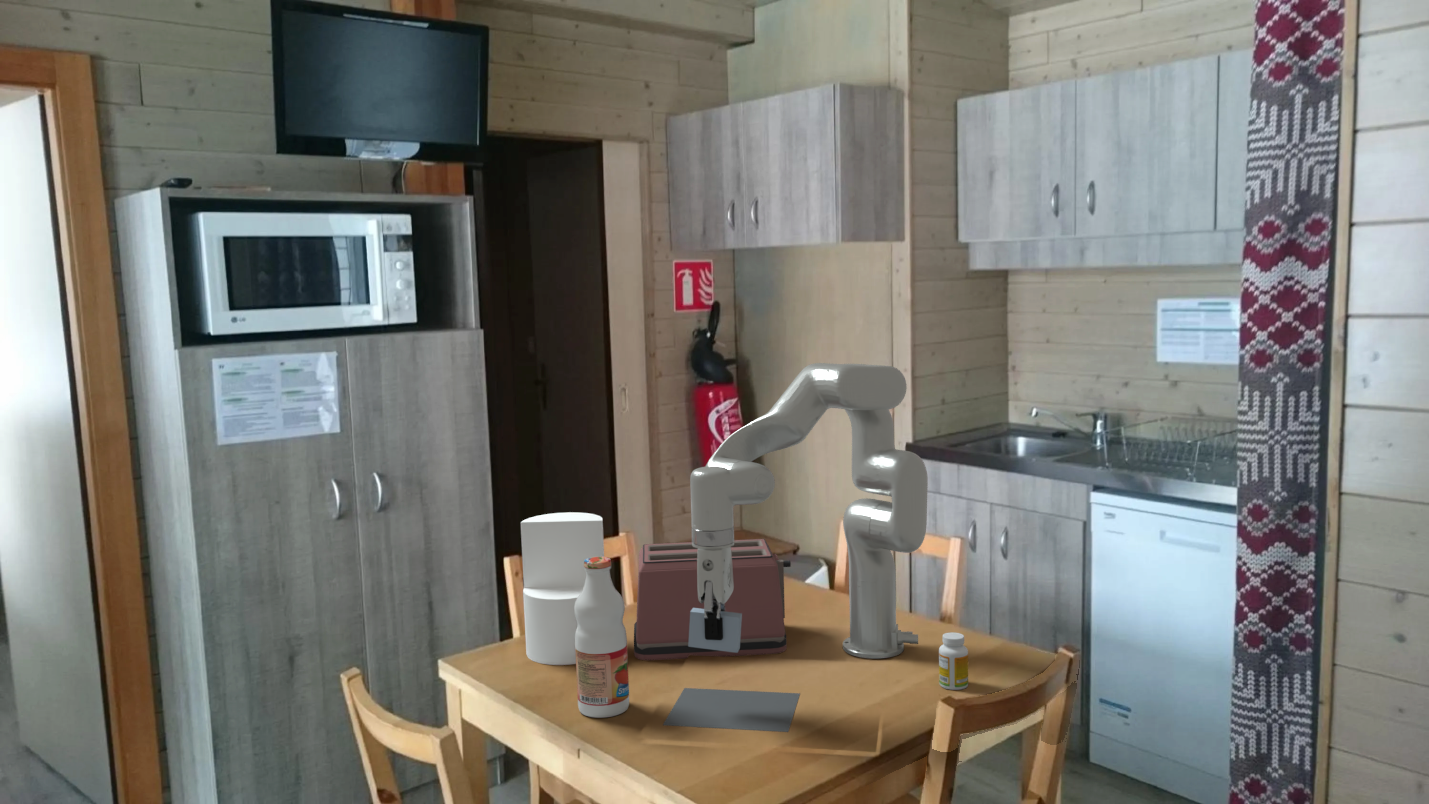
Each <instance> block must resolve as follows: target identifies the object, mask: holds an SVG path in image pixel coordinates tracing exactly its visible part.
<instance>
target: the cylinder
mask: <svg viewBox="0 0 1429 804" xmlns="http://www.w3.org/2000/svg"><path fill="white" fill-rule="evenodd" d="M603 522H604V521H603V517H602V516H601V515H598V514H595V513H588V512H573V511H572V512H571V511H569V512H554V513H552V512H551V513H547V514H546V513H544V514H541V515H535V516H532V517H528V518H526V519H524V520H523V519H522V521H520V538H521V540H520V541H521V558H522V575H523V576H522V577H523V580H522V581H523V589H522V595H523V613H524V633H525V634H524V636H525V650H526V651H525V653H526V656H527V658H528V659H529V660H531V661H532V662H535V663H538V664H542V665H543V664H544V665H550V666H552V665H553V666H564V665H565V666H567V665H576V651H575V632H576V629H577V626H578V623H577V619H576V617H575V612H574V606H575V601H576V599H577V598H578V596H579V595H580V593H581V592H582V590H583V587H584V584H585V580H586V571H585V569H584V561H585V560H586V559H588V558H591V557H605V545H604V543H605V542H604V523H603Z"/></svg>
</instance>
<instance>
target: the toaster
mask: <svg viewBox="0 0 1429 804" xmlns="http://www.w3.org/2000/svg"><path fill="white" fill-rule="evenodd" d="M697 553H698V548H695V547H693V546H692V541H689V542H688V541H687V542H665V543H647V544H646V543H645V544H643V545H642V547H641V548H640V550H639V552H638V554H639V555H638V575H637V576H638V577H637V601H636V621H635V623H634V624H633V627H634V629H633V655H634V657H635V658H636V659H638V660H640V661H662V660H681V659H682V660H683V659H684V660H685V659H686V660H687V659H688V658H689V656H696V657H697V656H700V657H721V658H722V657H739V656H741V657H742V656H759V655H760V656H761V655H762V656H763V655H775V654H781V653H783V652H785V651H786V650H787V646H788V645H787V643H788V642H787V641H788V640H787V633H786V627H785V618H786V617H785V616H786V613H785V611H786V610H785V609H786V608H785V574H784V573H785V572H784V570H785V569H784V568H790V567H792V566H791V565H792V564H791V560H784V559H779V557H778V555H777V553H773V552H772V550H771V547H770V545H769V543H767V540H766V539H765V538H755V539H754V538H750V539H734V545H733V546H731V554H732V566H733V581H734V590H733V592H732V594H731V596H730V597H729V599H728V600H727V602H726V603H725V612H734V613H742V622H741V638H740V649H739V651H738V653H735V652H727V651H719V650H711V649H704V648H696V647H688V642H689V625H690V611H691V610H692V609H693V608H701V609H704V602H703V603H700V602H699V600H698V588H697Z"/></svg>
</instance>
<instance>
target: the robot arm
mask: <svg viewBox="0 0 1429 804" xmlns="http://www.w3.org/2000/svg"><path fill="white" fill-rule="evenodd" d="M907 389H908V387H907V380H906V378H905V376H904V374H903V373H902V371H901V370H900V369H898V368H897V367H894V366H892V365H880V364H879V365H878V364H864V363H830V362H829V363H828V362H816V363H810V364H808V365H807V366H805V367H803V368H802V370H801V371H799V373H798V374H797V375H796V376H795V378H794V379H793V380H792V382H791V383H790V384H789V385H788V387H787V388H786V389H785V390H784V392H783V393H782V394H781V396H780V397H779V398H778V400H777V401H776V402H775V403H773V406H772V407H771V408H770V409H769V410H768V412H766V413H764V415H761V416H759V417H757V418H756V419H753V421H750V422H749V423H747V424H746V425H744V426H742V427H740V428H739V429H737V430H736V431H733V433H731V434H730V435H729V436H728V437H726V439H725V440H724V441H723V442H722V443H721V444H720V445H719V447H717V449H716V450H715V451H714V453H713V454H712V455H711V456H710V458H709V459H708V461H707V463H706V464H705V466H701V467H698V468H695V469H693V470H692V472H691V473H690V478H689V479H690V481H689V484H690V485H689V486H690V517H691V518H690V521H691V523H690V524H691V542H692V546H693V547H695V548H698V553H697V588H698V600H699V602H700V603H703V602H704V617H705V618H704V623H705V639H706V640H722V639H723V618H721V611H725V603H726V602H727V600H728V599H729V597H730V596H731V594H732V592H733V590H734V581H733V566H732V554H731V546H733V545H734V540H735V530H734V529H735V527H734V526H735V525H734V524H735V522H734V521H735V520H734V507H735V506H740V505H743V506H744V505H745V506H746V505H759V504H761V503H764V502H765V501H766V500H768V499H769V498H770V497H771V495H772V494H773V492H774V490H775V485H776V482H775V481H776V480H775V476H774V474H773V472H772V471H771V470H770V469H769V468H768V467H767V466H765V465H763V464H761V463H759V462H758V463H757V462H753V461H754V460H756V459H758V458H760V457H761V456H764V455H767V454H769V453H773V452H777V451H780V450H786V449H788V448H790V447H794V446H796V445H799V444H800V443H802V442H803V441H804V440H805V439H806V438H807V436H808V435H809V434H810V433H811V432H812V430H813V428H814V427H815V426H816V424H817V423H818V422H819V421H820V419H821V418H822V417H823V416H824V414H825V413H826V412H827V410H829V409H840V410H844V411H845V412H846V414H847V416H848V419H849V421H850V425H851V427H850V428H851V478H852V484H853V485H854V487H855V488H856V489H858V490H860V491H862V492H865V493H869V494H873V495H874V494H875V495H880V496H881V495H882V496H885V497H891V501H888V500H881V499H875V498H867V497H866V498H858V499H856V500H853V501H852V502H850V504H848V506H847V507H846V508H845V511H844V514H843V519H842V520H843V521H842V524H843V525H842V526H843V531H844V537H845V541H846V545H847V553H848V556H847V557H848V583H849V585H848V586H849V590H848V591H849V593H848V594H849V595H848V596H849V637H847V638H845V639H844V640H843V642H842V650H843V651H844V652H845V653H847V654H849V655H851V656H854V657H857V658H861V659H862V658H863V659H872V660H873V659H875V660H876V659H888V658H893V657H896V656H898V655H900V654H902V653H903V652H904V650H905V644H912V645H913V644H914V645H918V644H919V634H916V633H915V634H914V633H913V632H914V631H902V630H901V629H899V624H898V623H897V600H896V599H897V597H896V596H897V593H896V592H897V591H896V590H897V587H896V586H897V584H896V583H897V581H896V579H897V578H896V576H897V575H896V574H897V573H896V570H897V569H896V562H895V559H894V556H893V554H892V553H893V552H896V553H897V552H898V553H903V554H904V553H905V554H908V553H910V554H911V553H913V552H916V551H918V550H919V548H920V547H921V546H922V544H923V543H924V540H925V537H926V531H927V523H928V521H927V520H928V517H927V516H928V488H929V486H928V485H929V484H928V472H927V467H926V464H925V463H924V461H923V459H922V458H921V457H920V456H919V455H918V454H916V452H915V453H914V452H912V451H909V450H903V449H896V447H895V432H894V431H895V429H894V426H895V425H894V420H893V415H892V413H891V411H890V410H892V409H894V408H896V407H897V406H899V405H900V404H901V403H902V402H903V400H904V399H905V397H906V393H907ZM891 551H892V552H891Z"/></svg>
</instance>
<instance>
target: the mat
mask: <svg viewBox="0 0 1429 804" xmlns="http://www.w3.org/2000/svg"><path fill="white" fill-rule="evenodd" d="M800 695H801V693H800V692H799V693H797V692H782V691H781V692H777V691H776V692H775V691H758V690H755V691H754V690H733V689H718V688H717V689H712V688H698V687H697V688H692V687H684V688H683V690H682V691H681V692H680V694H679V696H678V698H677V700H676V701H675V704H674V705H673V707H672V708H671V710H670V712H669V713H668V715H667V717H666V718H665V720H664V722H663V724H662V726H667V727H668V726H670V727H689V728H704V729H705V728H706V729H707V728H708V729H723V730H724V729H726V730H744V731H760V732H780V733H789V731H790V727H791V725H792V722H793V718H794V714H795V711H796V708H797V705H798V702H799V699H800Z"/></svg>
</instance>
